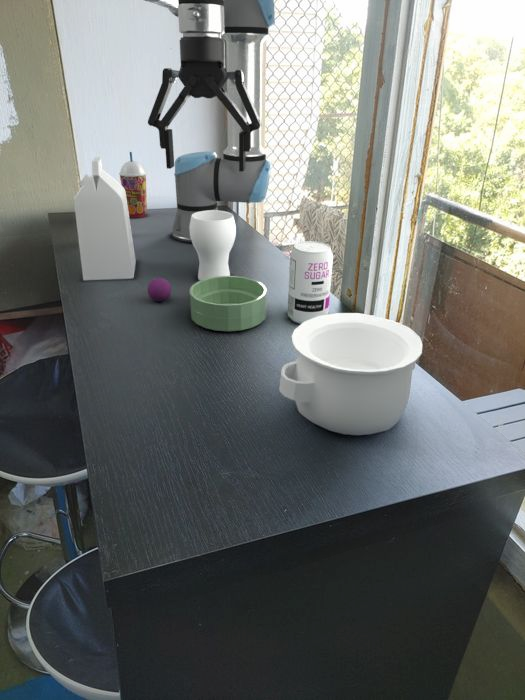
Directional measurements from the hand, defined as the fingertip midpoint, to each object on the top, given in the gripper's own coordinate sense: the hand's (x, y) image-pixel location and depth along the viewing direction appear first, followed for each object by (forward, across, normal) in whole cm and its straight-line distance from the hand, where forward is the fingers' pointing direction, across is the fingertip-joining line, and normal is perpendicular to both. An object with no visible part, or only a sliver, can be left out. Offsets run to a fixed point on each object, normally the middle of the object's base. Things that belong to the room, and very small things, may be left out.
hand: (206, 169), depth 98 cm
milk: (+28, -28, +17) cm, 43 cm away
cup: (+28, -2, +16) cm, 33 cm away
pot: (+28, +28, -35) cm, 53 cm away
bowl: (+28, +5, -5) cm, 29 cm away
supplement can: (+28, +21, -3) cm, 35 cm away
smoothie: (+28, -38, +68) cm, 83 cm away
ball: (+28, -11, +1) cm, 30 cm away
